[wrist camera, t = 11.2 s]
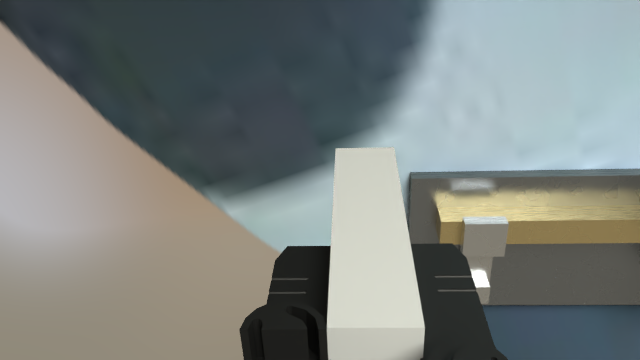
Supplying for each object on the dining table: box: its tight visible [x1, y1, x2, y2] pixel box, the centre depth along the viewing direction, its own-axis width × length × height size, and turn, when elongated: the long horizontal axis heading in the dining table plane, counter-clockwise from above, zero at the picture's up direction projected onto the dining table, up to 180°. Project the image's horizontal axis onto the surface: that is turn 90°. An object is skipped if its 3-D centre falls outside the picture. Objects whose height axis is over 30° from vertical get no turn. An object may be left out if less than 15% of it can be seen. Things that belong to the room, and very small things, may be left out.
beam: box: [436, 205, 640, 304], centre depth 41 cm, size 7×25×3 cm, turn 92°
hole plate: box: [408, 169, 640, 305], centre depth 43 cm, size 12×28×1 cm, turn 92°
